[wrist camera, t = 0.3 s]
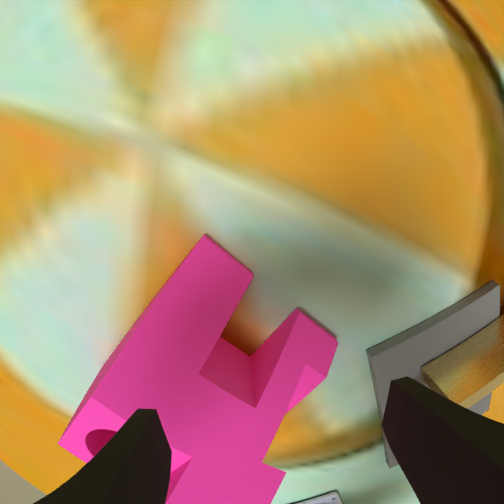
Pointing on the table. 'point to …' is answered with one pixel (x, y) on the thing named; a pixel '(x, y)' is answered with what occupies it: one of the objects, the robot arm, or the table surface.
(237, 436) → the bracket
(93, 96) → the table surface
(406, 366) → the hinge mount
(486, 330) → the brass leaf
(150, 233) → the table surface
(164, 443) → the robot arm
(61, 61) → the table surface
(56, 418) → the table surface
